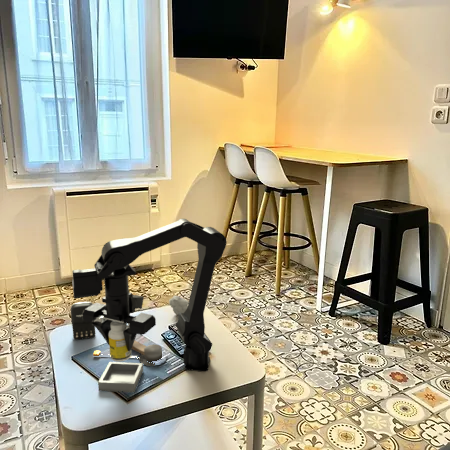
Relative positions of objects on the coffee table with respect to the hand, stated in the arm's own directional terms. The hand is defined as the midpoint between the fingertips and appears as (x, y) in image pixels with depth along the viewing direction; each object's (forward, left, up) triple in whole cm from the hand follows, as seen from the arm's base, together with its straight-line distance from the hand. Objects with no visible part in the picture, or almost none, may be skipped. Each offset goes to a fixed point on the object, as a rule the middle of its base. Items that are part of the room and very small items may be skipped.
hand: (120, 347), depth 111 cm
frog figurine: (-9, -39, -10) cm, 41 cm away
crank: (-1, -14, -9) cm, 17 cm away
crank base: (+1, -11, -10) cm, 15 cm away
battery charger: (+18, -21, -10) cm, 29 cm away
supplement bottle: (0, 0, -3) cm, 3 cm away
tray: (0, 0, -10) cm, 10 cm away
